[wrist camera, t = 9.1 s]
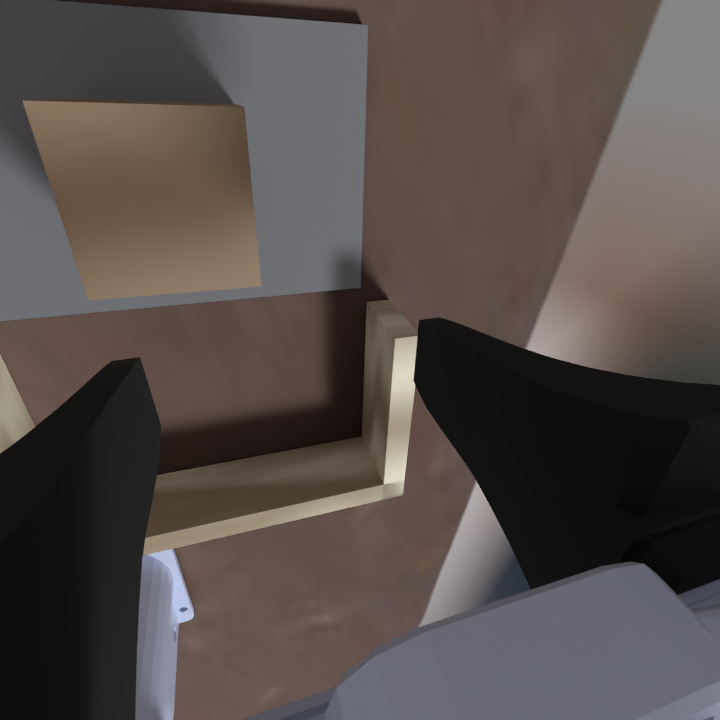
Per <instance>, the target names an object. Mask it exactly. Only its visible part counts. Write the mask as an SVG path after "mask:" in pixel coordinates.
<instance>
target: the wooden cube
mask: <svg viewBox="0 0 720 720" xmlns="http://www.w3.org/2000/svg"><path fill="white" fill-rule="evenodd" d="M22 101H23V104H24V107H25V110H26V113H27V116H28V119H29V122H30V125H31V128H32V132H33V135H34V138H35V141H36V144H37V147H38V150H39V153H40V156H41V159H42V162H43V165H44V168H45V171H46V174H47V177H48V180H49V183H50V186H51V189H52V192H53V195H54V198H55V201H56V205H57V208H58V211H59V214H60V217H61V220H62V223H63V226H64V229H65V232H66V235H67V238H68V241H69V244H70V247H71V250H72V253H73V256H74V259H75V262H76V265H77V268H78V271H79V275H80V278H81V281H82V284H83V287H84V290H85V293H86V296H87V299H88V300H100V299H112V298H124V297H137V296H149V295H162V294H174V293H187V292H199V291H211V290H224V289H236V288H249V287H261V275H260V265H259V255H258V244H257V234H256V223H255V213H254V202H253V192H252V182H251V171H250V161H249V150H248V140H247V129H246V119H245V109H244V107H243V106H239V105H236V104H223V103H192V102H160V101H128V100H96V99H55V100H22Z"/></svg>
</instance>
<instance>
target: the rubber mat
mask: <svg viewBox="0 0 720 720" xmlns="http://www.w3.org/2000/svg"><path fill="white" fill-rule="evenodd" d="M367 46H368V25H361V24H349V23H336V22H323V21H310V20H298V19H285V18H272V17H260V16H247V15H234V14H221V13H209V12H196V11H183V10H171V9H158V8H145V7H132V6H120V5H107V4H94V3H81V2H69V1H56V0H0V321H7V320H18V319H29V318H40V317H50V316H61V315H72V314H83V313H94V312H105V311H115V310H126V309H137V308H148V307H159V306H170V305H180V304H191V303H202V302H213V301H224V300H235V299H245V298H256V297H267V296H278V295H289V294H299V293H310V292H321V291H332V290H343V289H354V288H361V261H362V225H363V189H364V153H365V118H366V82H367ZM55 99H96V100H128V101H160V102H192V103H223V104H236V105H239V106H243V107H244V109H245V119H246V129H247V140H248V150H249V161H250V171H251V182H252V192H253V202H254V213H255V223H256V234H257V244H258V255H259V265H260V275H261V287H249V288H236V289H224V290H211V291H199V292H187V293H174V294H162V295H149V296H137V297H124V298H112V299H100V300H88V299H87V296H86V293H85V290H84V287H83V284H82V281H81V278H80V275H79V271H78V268H77V265H76V262H75V259H74V256H73V253H72V250H71V247H70V244H69V241H68V238H67V235H66V232H65V229H64V226H63V223H62V220H61V217H60V214H59V211H58V208H57V205H56V201H55V198H54V195H53V192H52V189H51V186H50V183H49V180H48V177H47V174H46V171H45V168H44V165H43V162H42V159H41V156H40V153H39V150H38V147H37V144H36V141H35V138H34V135H33V132H32V128H31V125H30V122H29V119H28V116H27V113H26V110H25V107H24V104H23V101H22V100H55Z"/></svg>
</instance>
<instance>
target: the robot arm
mask: <svg viewBox="0 0 720 720" xmlns="http://www.w3.org/2000/svg"><path fill="white" fill-rule="evenodd" d="M413 381H414V383H415V385H416V387H417V389H418V391H419V394H420V396H421V398H422V400H423V402H424V403H425V405H426V407H427V409H428V410H429V412H430V413H431V415H432V416H433V418H434V419H435V421H436V422H437V424H438V425H439V427H440V428H441V429H442V431H443V432H444V434H445V435H446V437H447V438H448V439H449V441H450V442H451V444H452V445H453V446H454V448H455V449H456V451H457V452H458V453H459V455H460V456H461V458H462V459H463V461H464V462H465V463H466V465H467V466H468V468H469V469H470V471H471V473H472V474H473V476H474V477H475V479H476V481H477V482H478V484H479V486H480V488H481V490H482V492H483V493H484V495H485V497H486V498H487V501H488V502H489V504H490V506H491V508H492V510H493V512H494V514H495V516H496V518H497V520H498V522H499V523H500V525H501V527H502V529H503V531H504V533H505V535H506V537H507V539H508V541H509V543H510V545H511V548H512V550H513V552H514V554H515V556H516V558H517V560H518V562H519V565H520V567H521V569H522V571H523V573H524V575H525V577H526V579H527V582H528V584H529V587H530V589H531V590H529V591H526V592H523V593H520V594H517V595H514V596H511V597H508V598H505V599H502V600H500V601H496V602H493V603H490V604H487V605H484V606H481V607H478V608H475V609H472V610H469V611H466V612H463V613H460V614H457V615H454V616H451V617H449V618H445V619H442V620H439V621H437V622H434V623H431V624H428V625H425V626H422V627H419V628H417V629H415V630H413V631H410V632H408V633H406V634H404V635H402V636H400V637H398V638H396V639H394V640H392V641H389V642H387V643H385V644H383V645H381V646H379V647H377V648H375V649H374V650H373V651H371V652H370V653H369V654H368V655H367V656H365V657H364V658H363V659H362V660H361V661H359V662H358V663H357V664H356V665H355V666H353V667H352V668H351V669H350V670H349V671H347V672H346V673H345V674H344V675H343V676H342V678H341V680H340V682H339V684H338V686H336V687H333V688H330V689H327V690H325V691H322V692H319V693H316V694H313V695H310V696H308V697H305V698H302V699H299V700H296V701H294V702H291V703H288V704H285V705H282V706H279V707H277V708H274V709H271V710H268V711H265V712H262V713H260V714H257V715H254V716H251V717H248V718H246V719H243V720H720V385H712V384H698V383H684V382H675V381H667V380H659V379H650V378H643V377H636V376H631V375H624V374H619V373H614V372H608V371H603V370H598V369H593V368H589V367H585V366H580V365H577V364H573V363H569V362H565V361H562V360H557V359H554V358H551V357H547V356H544V355H541V354H538V353H535V352H532V351H529V350H526V349H523V348H520V347H517V346H515V345H512V344H509V343H507V342H504V341H501V340H499V339H496V338H494V337H491V336H489V335H486V334H484V333H481V332H479V331H476V330H474V329H471V328H469V327H466V326H463V325H461V324H458V323H455V322H453V321H450V320H446V319H443V318H432V319H425V320H419V326H418V337H417V348H416V358H415V369H414V380H413ZM160 427H161V424H160V421H159V418H158V414H157V411H156V408H155V405H154V401H153V398H152V395H151V392H150V388H149V385H148V382H147V379H146V375H145V372H144V369H143V366H142V362H141V359H140V357H139V358H132V359H124V360H117V361H111V362H110V363H109V364H107V365H106V366H105V367H104V368H103V369H101V370H100V371H99V372H98V373H97V374H96V375H95V376H94V377H92V378H91V379H90V380H89V381H88V382H87V383H86V384H85V385H84V386H83V387H81V388H80V389H79V390H78V391H77V392H76V393H75V394H74V395H72V396H71V397H70V398H69V399H68V400H67V401H66V402H65V403H63V404H62V405H61V406H60V407H59V408H58V409H57V410H55V411H54V412H53V413H52V414H50V415H49V416H48V417H47V418H46V419H44V420H43V421H42V422H41V423H39V424H38V425H37V426H36V427H34V428H33V429H32V430H31V431H30V432H28V433H27V434H26V435H25V436H23V437H22V438H21V439H19V440H18V441H17V442H15V443H14V444H13V445H11V446H10V447H9V448H7V449H6V450H5V451H3V452H2V453H0V720H173V716H174V700H175V682H176V663H177V644H178V625H179V623H182V622H186V621H189V620H191V619H192V618H193V617H194V609H193V606H192V603H191V600H190V597H189V594H188V591H187V588H186V585H185V582H184V579H183V576H182V573H181V570H180V567H179V564H178V561H177V558H176V555H175V552H174V549H169V550H165V551H161V552H156V553H152V554H148V555H143V551H144V544H145V538H146V532H147V527H148V521H149V516H150V510H151V505H152V500H153V494H154V489H155V483H156V477H157V472H158V466H159V460H160Z"/></svg>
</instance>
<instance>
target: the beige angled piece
mask: <svg viewBox="0 0 720 720" xmlns="http://www.w3.org/2000/svg"><path fill="white" fill-rule="evenodd" d="M417 337H418V332H417V331H416V329H415V328H414V327H413V326H412V325H411V324H410V323H409V322H408V320H407V319H406V318H405V317H404V316H403V315H402V314H401V313H400V311H399V310H398V309H397V308H396V307H395V306H394V305H393V304H392V302H391V301H390V300H381V301H371V302H367V309H366V336H365V363H364V391H363V418H362V436H361V437H356V438H351V439H346V440H340V441H335V442H330V443H324V444H319V445H314V446H308V447H303V448H298V449H293V450H287V451H282V452H277V453H271V454H266V455H261V456H256V457H250V458H245V459H240V460H234V461H229V462H224V463H218V464H213V465H208V466H203V467H197V468H192V469H187V470H181V471H176V472H171V473H166V474H160V475H157V477H156V483H155V489H154V494H153V500H152V505H151V510H150V516H149V521H148V527H147V532H146V538H145V544H144V551H143V555H148V554H152V553H156V552H161V551H165V550H169V549H173V548H178V547H182V546H186V545H191V544H195V543H199V542H203V541H208V540H212V539H216V538H221V537H225V536H229V535H233V534H238V533H242V532H246V531H251V530H255V529H259V528H264V527H268V526H272V525H276V524H281V523H285V522H289V521H294V520H298V519H302V518H306V517H311V516H315V515H319V514H324V513H328V512H332V511H336V510H341V509H345V508H349V507H354V506H358V505H362V504H366V503H371V502H375V501H379V500H384V499H388V498H392V497H396V496H401V495H403V487H404V479H405V470H406V461H407V452H408V444H409V435H410V426H411V417H412V408H413V400H414V391H415V383H414V381H413V380H414V369H415V358H416V348H417ZM34 427H35V425H34V423H33V421H32V419H31V417H30V415H29V413H28V410H27V408H26V406H25V404H24V402H23V400H22V398H21V396H20V394H19V392H18V390H17V388H16V386H15V384H14V382H13V380H12V378H11V376H10V374H9V372H8V370H7V367H6V365H5V363H4V361H3V359H2V357H1V355H0V453H2V452H3V451H5V450H6V449H7V448H9V447H10V446H11V445H13V444H14V443H15V442H17V441H18V440H19V439H21V438H22V437H23V436H25V435H26V434H27V433H28V432H30V431H31V430H32V429H33V428H34Z"/></svg>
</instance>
